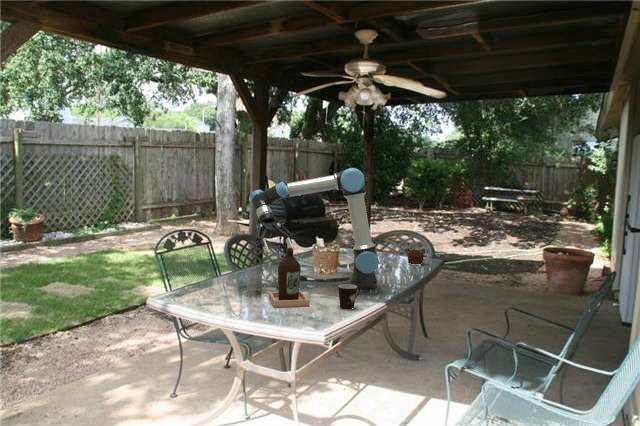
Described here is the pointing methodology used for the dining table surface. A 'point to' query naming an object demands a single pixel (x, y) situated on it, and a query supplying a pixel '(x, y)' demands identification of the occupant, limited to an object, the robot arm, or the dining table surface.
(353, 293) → the coffee mug
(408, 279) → the dining table surface
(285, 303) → the bin
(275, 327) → the dining table surface
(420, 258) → the muffin
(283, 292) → the olive oil
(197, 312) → the dining table surface
